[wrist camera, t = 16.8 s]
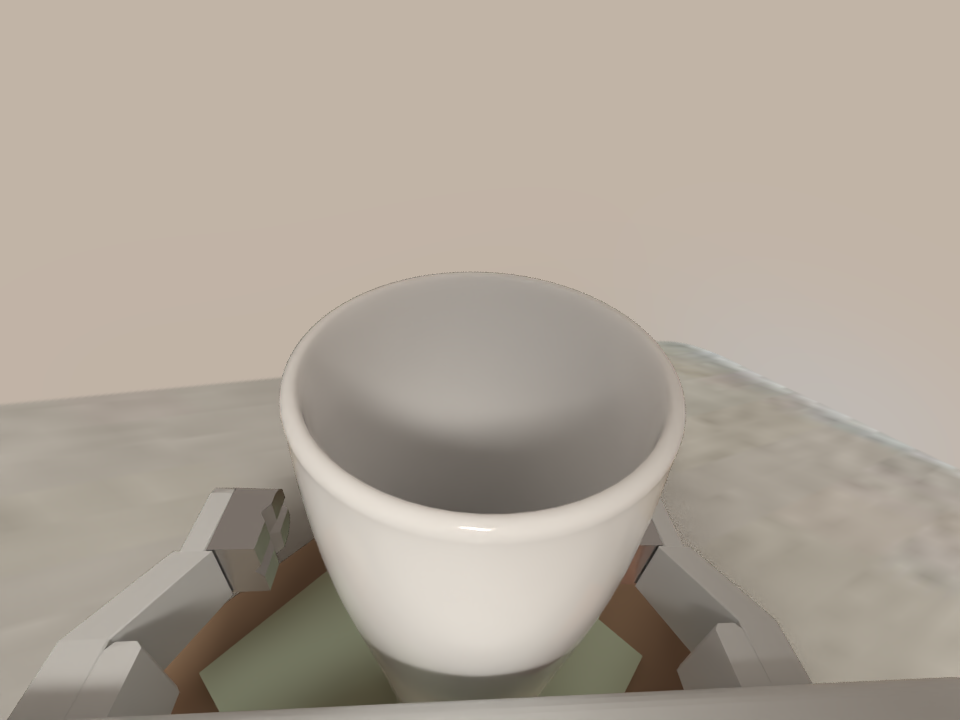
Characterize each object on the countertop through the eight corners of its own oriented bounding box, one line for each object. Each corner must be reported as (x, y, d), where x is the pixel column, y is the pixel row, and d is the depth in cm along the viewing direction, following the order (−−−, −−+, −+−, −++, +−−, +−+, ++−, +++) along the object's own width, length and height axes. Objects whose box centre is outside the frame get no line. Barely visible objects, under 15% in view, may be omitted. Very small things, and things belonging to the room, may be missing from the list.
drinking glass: (460, 550, 20) (468, 243, 11) (588, 660, 17) (749, 350, 8) (337, 680, 16) (188, 358, 7) (475, 862, 13) (535, 698, 4)
